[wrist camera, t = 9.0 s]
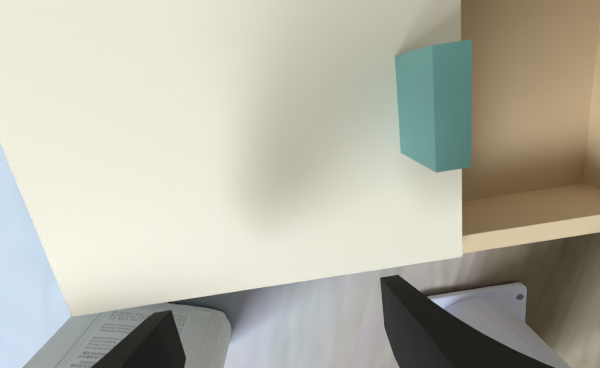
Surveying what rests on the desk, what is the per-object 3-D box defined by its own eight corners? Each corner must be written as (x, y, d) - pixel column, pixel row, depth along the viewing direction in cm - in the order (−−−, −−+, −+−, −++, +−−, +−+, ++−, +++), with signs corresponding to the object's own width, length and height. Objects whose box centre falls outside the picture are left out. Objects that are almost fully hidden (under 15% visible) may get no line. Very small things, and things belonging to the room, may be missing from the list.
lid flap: (456, 250, 17) (509, 301, 13) (79, 308, 16) (15, 377, 13) (451, -113, 12) (530, -208, 8) (-59, -35, 12) (-223, -93, 8)
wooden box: (585, 191, 22) (670, 221, 17) (287, 237, 22) (288, 280, 17) (616, -95, 17) (744, -166, 12) (239, -38, 17) (222, -86, 12)
